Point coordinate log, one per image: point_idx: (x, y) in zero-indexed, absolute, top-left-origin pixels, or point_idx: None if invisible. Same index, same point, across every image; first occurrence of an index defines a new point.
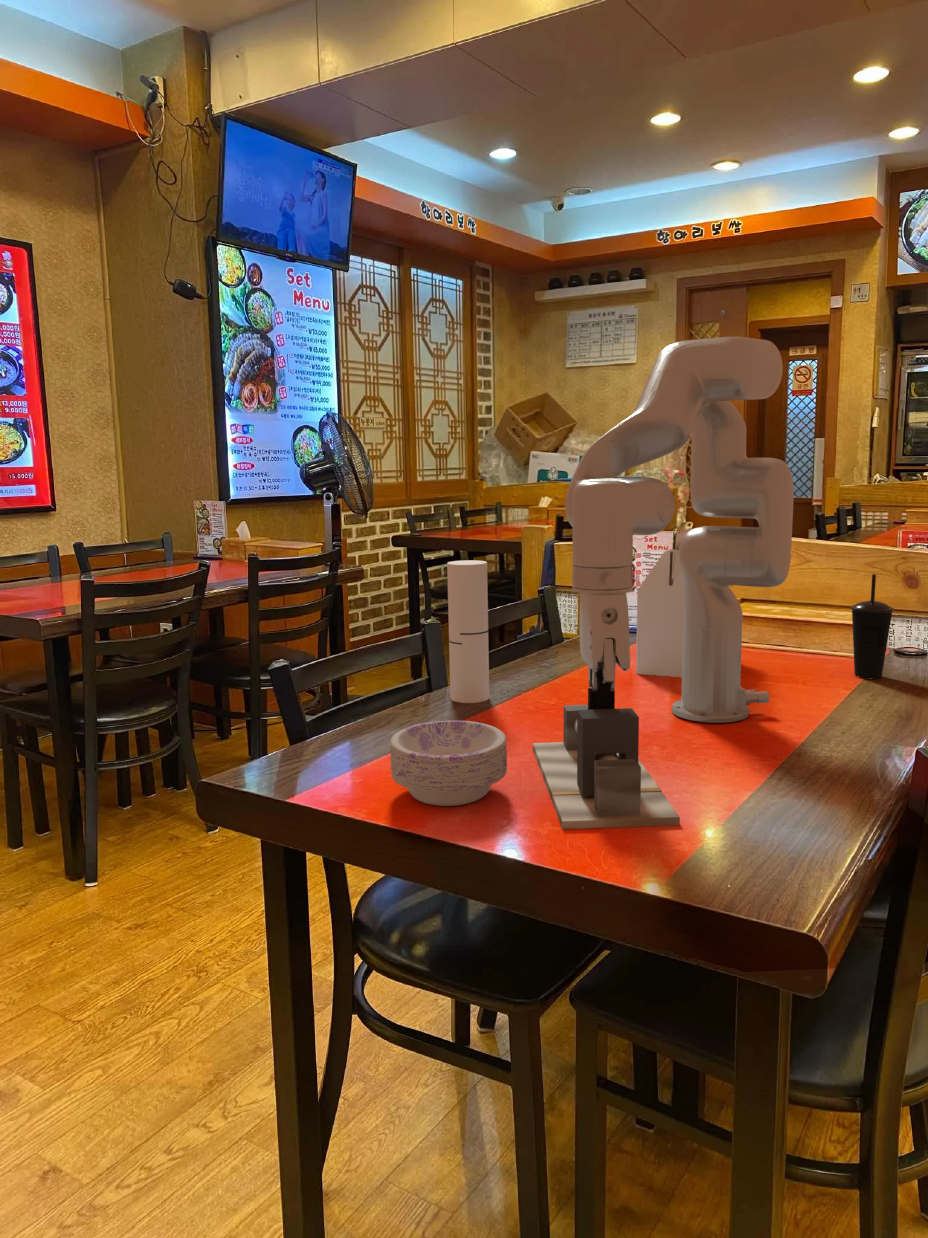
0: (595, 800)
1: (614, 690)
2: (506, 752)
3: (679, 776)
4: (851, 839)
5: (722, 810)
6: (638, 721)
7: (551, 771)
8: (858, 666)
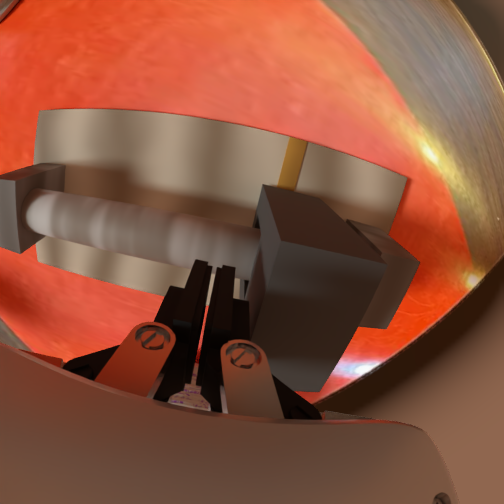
0: None
1: (230, 331)
2: (196, 389)
3: (204, 58)
4: (470, 35)
5: (376, 81)
6: (380, 258)
7: (153, 282)
8: None
